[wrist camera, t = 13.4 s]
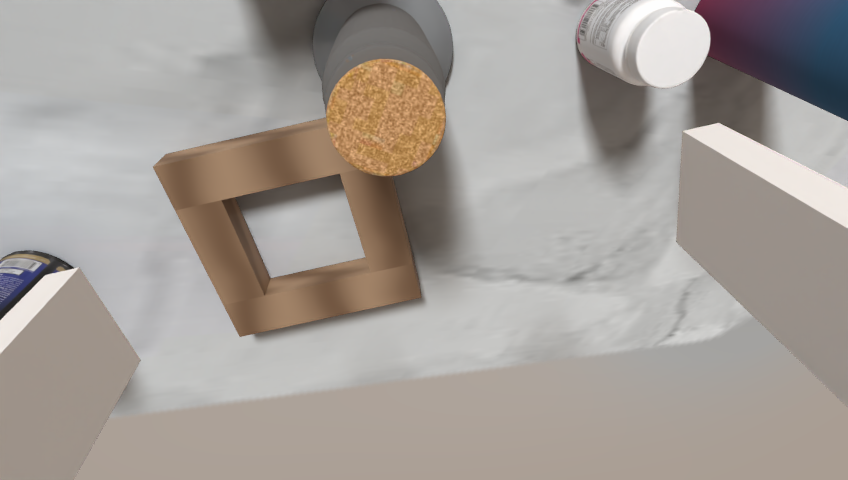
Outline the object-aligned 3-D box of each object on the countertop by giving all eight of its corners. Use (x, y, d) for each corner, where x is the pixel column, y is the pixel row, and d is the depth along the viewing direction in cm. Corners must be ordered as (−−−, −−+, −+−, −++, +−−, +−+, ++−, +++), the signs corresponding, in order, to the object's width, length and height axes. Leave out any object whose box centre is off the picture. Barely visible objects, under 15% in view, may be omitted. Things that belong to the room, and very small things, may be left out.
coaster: (336, 129, 36) (335, 132, 35) (294, -10, 31) (293, -9, 31) (461, 101, 36) (463, 103, 35) (437, -44, 31) (438, -44, 31)
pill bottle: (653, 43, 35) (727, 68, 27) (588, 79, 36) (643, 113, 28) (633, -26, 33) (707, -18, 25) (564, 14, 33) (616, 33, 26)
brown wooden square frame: (246, 318, 43) (239, 336, 41) (165, 154, 36) (152, 166, 34) (419, 280, 43) (421, 297, 41) (374, 106, 35) (374, 116, 33)
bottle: (445, 45, 33) (490, 111, 20) (388, 115, 35) (397, 215, 22) (373, -20, 31) (373, 6, 18) (317, 58, 33) (280, 132, 20)
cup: (657, 45, 35) (824, 104, 22) (723, -60, 32) (960, -64, 19) (731, 85, 37) (926, 162, 24) (800, -11, 34) (1064, 16, 21)
